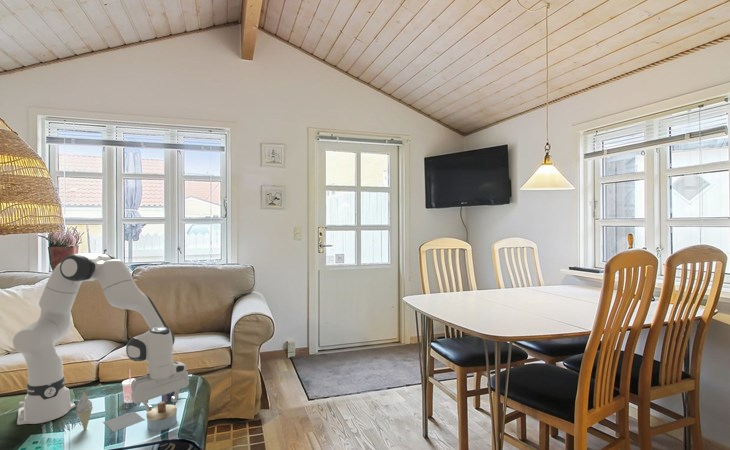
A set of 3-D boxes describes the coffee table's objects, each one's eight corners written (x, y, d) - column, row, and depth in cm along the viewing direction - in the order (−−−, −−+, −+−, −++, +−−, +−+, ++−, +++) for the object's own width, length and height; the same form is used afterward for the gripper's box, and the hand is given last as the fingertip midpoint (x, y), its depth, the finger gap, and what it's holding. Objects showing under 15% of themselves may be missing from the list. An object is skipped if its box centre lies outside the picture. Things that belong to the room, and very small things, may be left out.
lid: (153, 423, 146) (153, 412, 146) (141, 414, 153) (141, 404, 153) (181, 412, 155) (181, 402, 154) (169, 404, 161) (169, 394, 161)
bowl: (143, 426, 153) (143, 414, 153) (169, 416, 161) (169, 405, 161) (154, 435, 147) (154, 423, 147) (181, 424, 154) (180, 412, 154)
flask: (165, 403, 172) (164, 378, 171) (159, 403, 172) (158, 378, 172) (178, 393, 181) (178, 370, 181) (172, 393, 181) (172, 370, 181)
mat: (103, 423, 156) (103, 422, 156) (133, 412, 164) (133, 411, 164) (113, 433, 149) (113, 431, 149) (144, 421, 157) (144, 419, 157)
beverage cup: (141, 400, 175) (140, 368, 174) (126, 406, 170) (125, 373, 169) (134, 397, 178) (133, 365, 178) (119, 402, 173) (118, 370, 173)
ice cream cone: (90, 425, 154) (89, 387, 154) (95, 430, 151) (93, 390, 151) (75, 431, 150) (73, 391, 150) (79, 435, 147) (78, 395, 147)
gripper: (134, 381, 143) (135, 419, 144) (190, 364, 159) (191, 398, 159) (127, 376, 147) (128, 414, 148) (182, 360, 163) (183, 394, 163)
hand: (161, 406), depth 154 cm, fingers open, 8 cm apart
